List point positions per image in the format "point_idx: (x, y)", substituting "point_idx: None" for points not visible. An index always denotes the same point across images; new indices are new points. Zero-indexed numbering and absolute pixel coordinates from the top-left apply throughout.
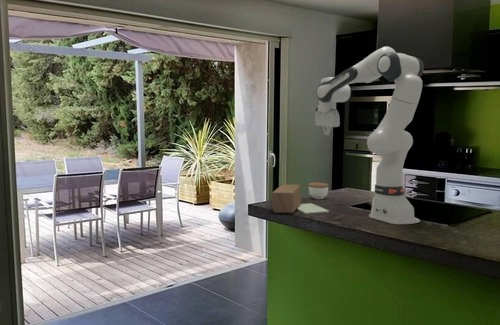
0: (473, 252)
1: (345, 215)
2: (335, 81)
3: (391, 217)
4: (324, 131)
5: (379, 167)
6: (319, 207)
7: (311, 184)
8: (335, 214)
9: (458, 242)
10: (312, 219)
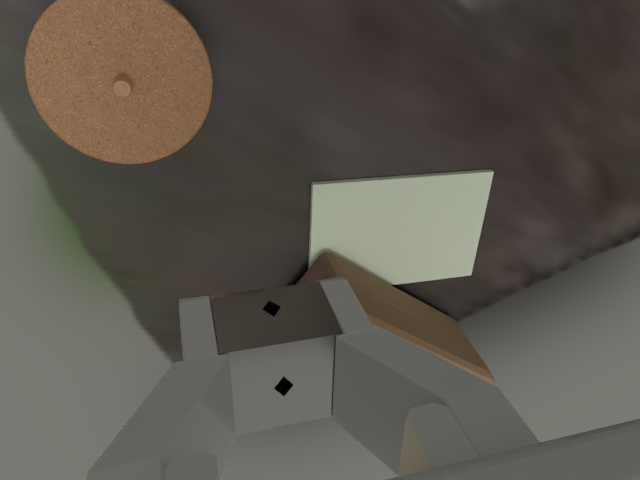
0: None
1: (576, 127)
2: None
3: None
4: (234, 439)
5: None
6: (418, 185)
7: (138, 151)
8: (540, 161)
9: None
10: (550, 275)
